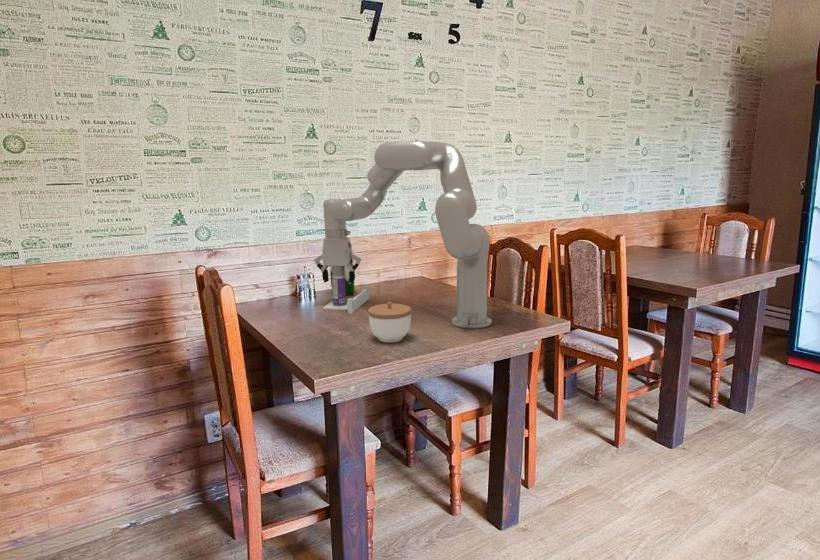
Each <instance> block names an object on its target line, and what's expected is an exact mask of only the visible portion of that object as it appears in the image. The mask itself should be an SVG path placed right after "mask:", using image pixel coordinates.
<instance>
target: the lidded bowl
mask: <svg viewBox="0 0 820 560" xmlns="http://www.w3.org/2000/svg"><path fill="white" fill-rule="evenodd" d="M367 315H368V324H369V328H370V330H371V333H372V334H373V335H374V337H376V339H378V341H379V342H381V343H387V344H388V343H397V342H400V341H402V340H403V338H405V337H406V335H407V334H408V332H409V330H410V327H411V323H412V308H411V306H409V305H406V304H402V303H392V301H388V302H386V303H383V304H376V305H373V306H370V307H369V308H368V309H367Z"/></svg>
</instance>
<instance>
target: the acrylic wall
mask: <svg viewBox="0 0 820 560" xmlns="http://www.w3.org/2000/svg"><path fill="white" fill-rule="evenodd" d="M369 300H370V286H369V285H364V286H363V290H362V291H360V292H359V293H357V295H354V296H353V298H346V302H347V304H348V310H347V314H348V315H349V314H354V312H355V311H357V310H358V309H359V308H361V306H362V305H364V304H365V303H366V302H368V301H369Z"/></svg>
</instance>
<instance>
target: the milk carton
mask: <svg viewBox="0 0 820 560" xmlns="http://www.w3.org/2000/svg"><path fill="white" fill-rule="evenodd" d="M351 248H353V247H352V245H351ZM352 254H353V255H354V250H353V249H352ZM352 264H353V265H355V263H354V262H353V263H352ZM344 267H345V286H346V297H355V280H354V281H353V282H352V283H350V281H349V272H350V270H349V268H348V267H347V266H344ZM329 272H330V273H329V275H330V284H331V290H332V292H333V288H332V266H329Z"/></svg>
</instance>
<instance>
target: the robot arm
mask: <svg viewBox="0 0 820 560" xmlns="http://www.w3.org/2000/svg"><path fill="white" fill-rule="evenodd" d="M373 157H374V162H375V163H374V165H372V167H371V168H370V169H369V170H368V172H367V174H366V178H367V181H368V182H369V186H368V187H367V188H366V190H365V191H364V192H363V193H362V194H361V195H360V196H359V197H353V198H352V197H351V198H344V199H341V198H329V199H325V200H324V201H323V205H322V206H323V207H322V208H323V219H324V220H323V221H324V232H325V233H324V236H325V237H324V238H323V242H322V244H323V245H322V254H321V255H320V256H317V257H315V258H314V260H313V261H314V263H315V265H316V267H317V268H318V269H319V270H320V272H321V274H322V280H323V283H327V282H329V280H330V279H329V277H330V276H329V270H328V268H329V267H330V266H334V265H338V266H347V267H348V268H349V270H350V272H349V281H350V283H352V282H353V281H354V282H355V280H356V272H355V271H356V270H357V268H358V267H359V266H360V264H361V262H362V258H361V257H360V256H357V255H356V254H354V253H353V254H352V250H353V249H352V248H353V247H352V248H351V246H352V243H351V239H350V237H348V236H350V235H351V230H348V228H347V222H351V221H356V220H363V219H367V218H368V217H370V216H371V215H372V214H374V212H376V210H377V209H379V208H378V207H380V206H381V205H382V203H383V201H384V199H385V197H386V195H387V192H388V189H389V188H390V187H391V186H392V185H393V183H395V181H396V180H397V179H398V178H399V177H400V176H401V175H402V174H403V173H404V172H405V171H427V170H428V171H429V170H438V171H439V173H440V174H439V175H440V178H439V179H440V184H441V186H442V187H441V188H442V190H443V193H442V194H441V195H440V196H439V197H438V198H437V200H436V202H435V205H434V206H435V209H434V210H435V211H434V212H435V217H436V221H437V225H438V227H439V232H440V234H441V238H442V242H443V244H444V248H445V249H446V252H447V253H448V254H449V255H450V256H451V257H452V258H454V259H456V260H457V261H456V316H454V317H453V318H452V319H451V324H452V325H454V326H455V327H458V328H462V329H482V328H486V327H490V325H492V322H493V321H492V320H493V319H492V318H490V317H488V314H487V313H488V260H489V253H490V246H491V245H490V241H491V240H490V234H489V232H488V230H487V229H486V228H485V226H482V225H481V224H478V223H470V220H471V219H472V218H473V217H474V216H475V214H476V213H477V208H478V206H477V202H476V201H477V200H476V197H475V194H474V190H473V188H472V185H471V181H470V178H469V176H468V172H467V168H466V163H465V159H464V158H463V155H462V153H461V151H460V150H459V149H458V148H457V147H456V146H454V145H453V144H450V143H447V142H442V141H430V140H429V141H426V140H421V141H419V140H418V141H417V140H416V141H414V140H413V141H386V142H382V143H381V144H380V145H379V146H378V147H377V148H376V149H375V152H374V156H373ZM321 260H322V263H323V264H322V263H321ZM354 261H355V263H354ZM352 263H354V265H353V264H352Z"/></svg>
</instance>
